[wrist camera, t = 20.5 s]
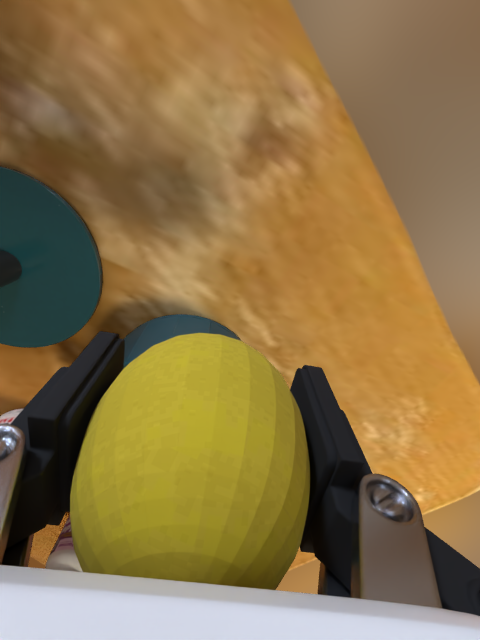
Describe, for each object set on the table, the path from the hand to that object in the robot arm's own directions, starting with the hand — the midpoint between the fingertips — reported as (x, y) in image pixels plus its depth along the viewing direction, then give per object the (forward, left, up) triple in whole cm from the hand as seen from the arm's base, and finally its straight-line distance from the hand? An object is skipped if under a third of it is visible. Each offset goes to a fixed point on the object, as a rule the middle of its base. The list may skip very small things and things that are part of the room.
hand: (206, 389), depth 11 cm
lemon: (0, 0, -2) cm, 2 cm away
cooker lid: (+4, -17, -18) cm, 25 cm away
